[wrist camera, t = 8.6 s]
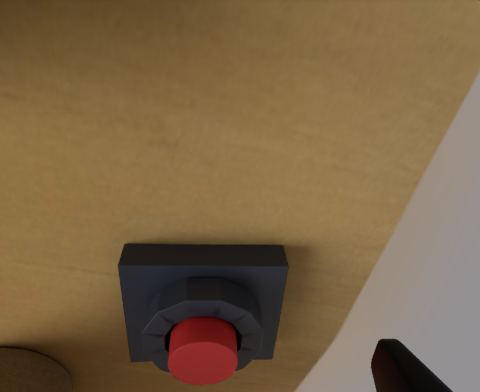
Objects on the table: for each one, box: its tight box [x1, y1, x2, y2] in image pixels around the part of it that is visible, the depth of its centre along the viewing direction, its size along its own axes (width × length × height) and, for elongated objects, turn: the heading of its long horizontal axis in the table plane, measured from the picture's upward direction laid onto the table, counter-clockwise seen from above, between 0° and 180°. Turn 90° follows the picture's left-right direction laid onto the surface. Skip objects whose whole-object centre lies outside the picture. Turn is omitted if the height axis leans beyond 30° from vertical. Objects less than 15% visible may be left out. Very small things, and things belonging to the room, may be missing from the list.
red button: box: [168, 316, 238, 385], centre depth 21 cm, size 4×4×2 cm
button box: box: [118, 244, 289, 373], centre depth 22 cm, size 9×8×4 cm
